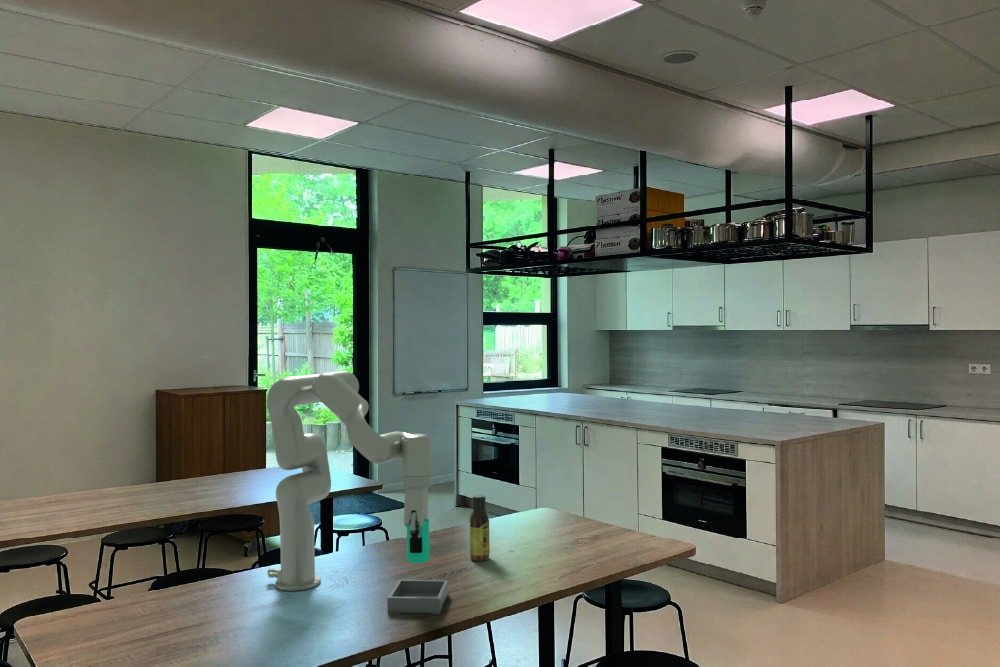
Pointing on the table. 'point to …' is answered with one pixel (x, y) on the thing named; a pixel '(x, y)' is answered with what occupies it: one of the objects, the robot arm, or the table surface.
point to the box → (418, 596)
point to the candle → (425, 545)
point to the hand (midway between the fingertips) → (418, 548)
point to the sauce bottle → (479, 530)
